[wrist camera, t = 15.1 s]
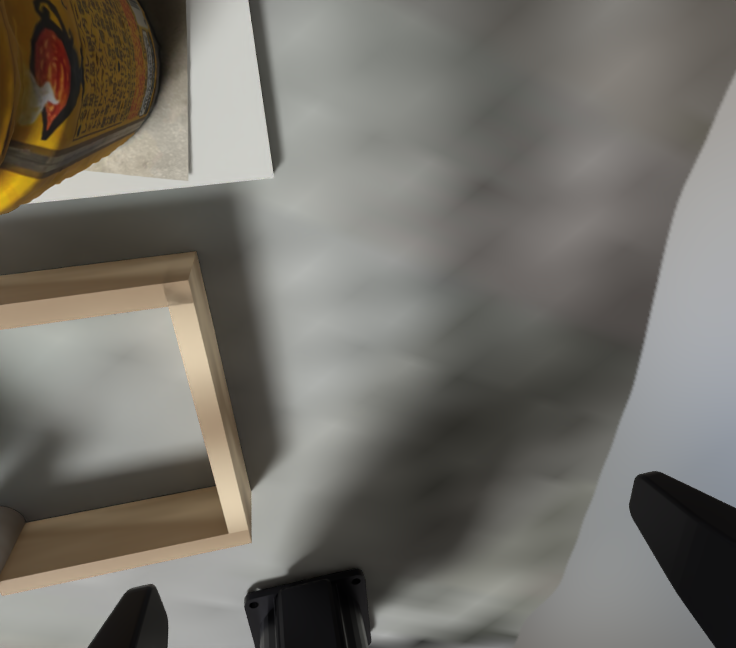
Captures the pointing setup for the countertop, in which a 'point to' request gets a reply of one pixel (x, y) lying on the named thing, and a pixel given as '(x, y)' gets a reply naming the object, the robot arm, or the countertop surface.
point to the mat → (205, 110)
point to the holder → (213, 406)
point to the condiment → (90, 92)
